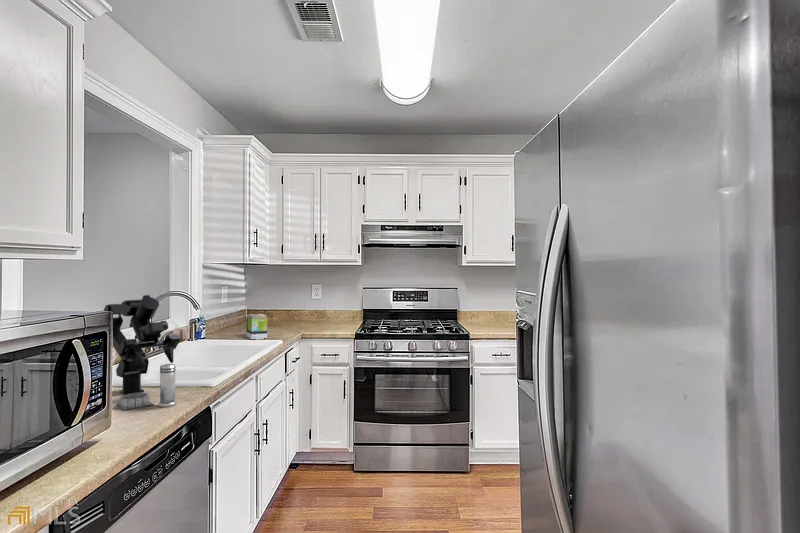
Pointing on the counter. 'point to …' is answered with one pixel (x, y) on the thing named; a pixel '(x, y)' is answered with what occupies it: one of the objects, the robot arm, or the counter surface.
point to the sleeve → (134, 401)
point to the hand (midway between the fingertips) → (158, 364)
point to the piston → (167, 385)
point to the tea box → (256, 326)
